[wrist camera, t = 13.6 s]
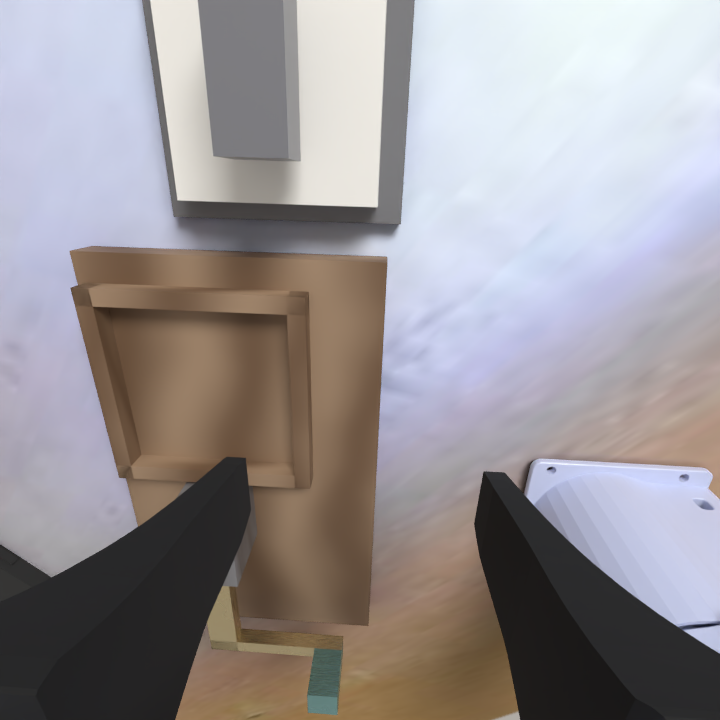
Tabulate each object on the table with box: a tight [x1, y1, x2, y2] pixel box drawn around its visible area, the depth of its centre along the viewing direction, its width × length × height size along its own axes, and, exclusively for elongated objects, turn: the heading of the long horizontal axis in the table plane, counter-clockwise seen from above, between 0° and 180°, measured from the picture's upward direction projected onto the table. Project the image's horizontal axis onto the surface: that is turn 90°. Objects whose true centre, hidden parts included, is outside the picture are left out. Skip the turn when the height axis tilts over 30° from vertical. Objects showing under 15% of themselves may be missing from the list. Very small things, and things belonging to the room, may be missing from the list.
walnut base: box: [70, 246, 387, 626], centre depth 22 cm, size 14×24×5 cm, turn 178°
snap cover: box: [150, 0, 387, 207], centre depth 14 cm, size 8×8×4 cm
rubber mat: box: [142, 0, 415, 224], centre depth 16 cm, size 10×10×1 cm
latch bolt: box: [207, 586, 343, 715], centre depth 22 cm, size 8×10×3 cm
